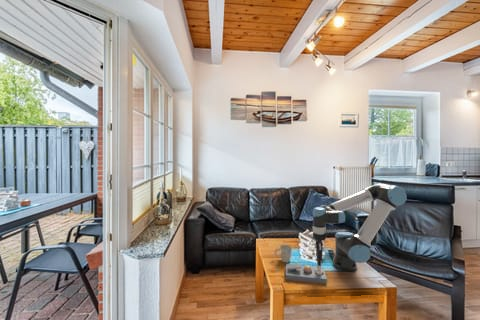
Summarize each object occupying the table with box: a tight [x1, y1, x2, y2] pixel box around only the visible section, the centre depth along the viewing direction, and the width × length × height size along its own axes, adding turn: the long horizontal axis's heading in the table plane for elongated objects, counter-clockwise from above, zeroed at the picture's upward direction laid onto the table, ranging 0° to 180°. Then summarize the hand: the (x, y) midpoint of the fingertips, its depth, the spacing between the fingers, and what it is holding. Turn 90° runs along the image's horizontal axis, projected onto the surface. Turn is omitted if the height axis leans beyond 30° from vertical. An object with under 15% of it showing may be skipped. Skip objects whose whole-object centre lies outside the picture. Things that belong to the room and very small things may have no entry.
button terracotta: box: [303, 264, 312, 273], centre depth 145 cm, size 4×4×3 cm
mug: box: [274, 244, 293, 263], centre depth 167 cm, size 8×13×10 cm, turn 78°
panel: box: [285, 263, 328, 285], centre depth 145 cm, size 24×14×4 cm, turn 78°
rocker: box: [288, 262, 302, 270], centre depth 147 cm, size 8×5×1 cm, turn 77°
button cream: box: [316, 269, 323, 275], centre depth 143 cm, size 4×4×3 cm
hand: (319, 269), depth 143 cm, fingers closed
